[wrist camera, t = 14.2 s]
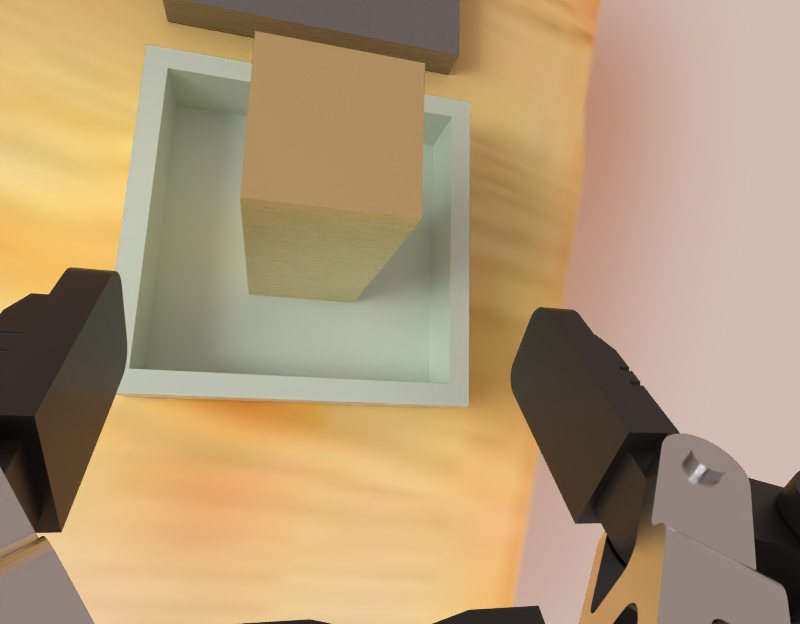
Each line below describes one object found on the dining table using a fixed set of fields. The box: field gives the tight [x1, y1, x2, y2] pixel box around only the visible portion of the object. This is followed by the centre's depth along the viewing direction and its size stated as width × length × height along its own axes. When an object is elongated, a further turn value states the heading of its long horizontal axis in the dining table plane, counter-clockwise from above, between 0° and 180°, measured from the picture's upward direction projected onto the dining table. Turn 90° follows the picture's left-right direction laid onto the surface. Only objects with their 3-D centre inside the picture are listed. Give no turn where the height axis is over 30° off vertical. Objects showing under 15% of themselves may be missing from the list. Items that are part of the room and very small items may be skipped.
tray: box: [115, 44, 470, 408], centre depth 22 cm, size 13×13×4 cm
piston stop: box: [240, 31, 425, 303], centre depth 18 cm, size 4×4×10 cm
